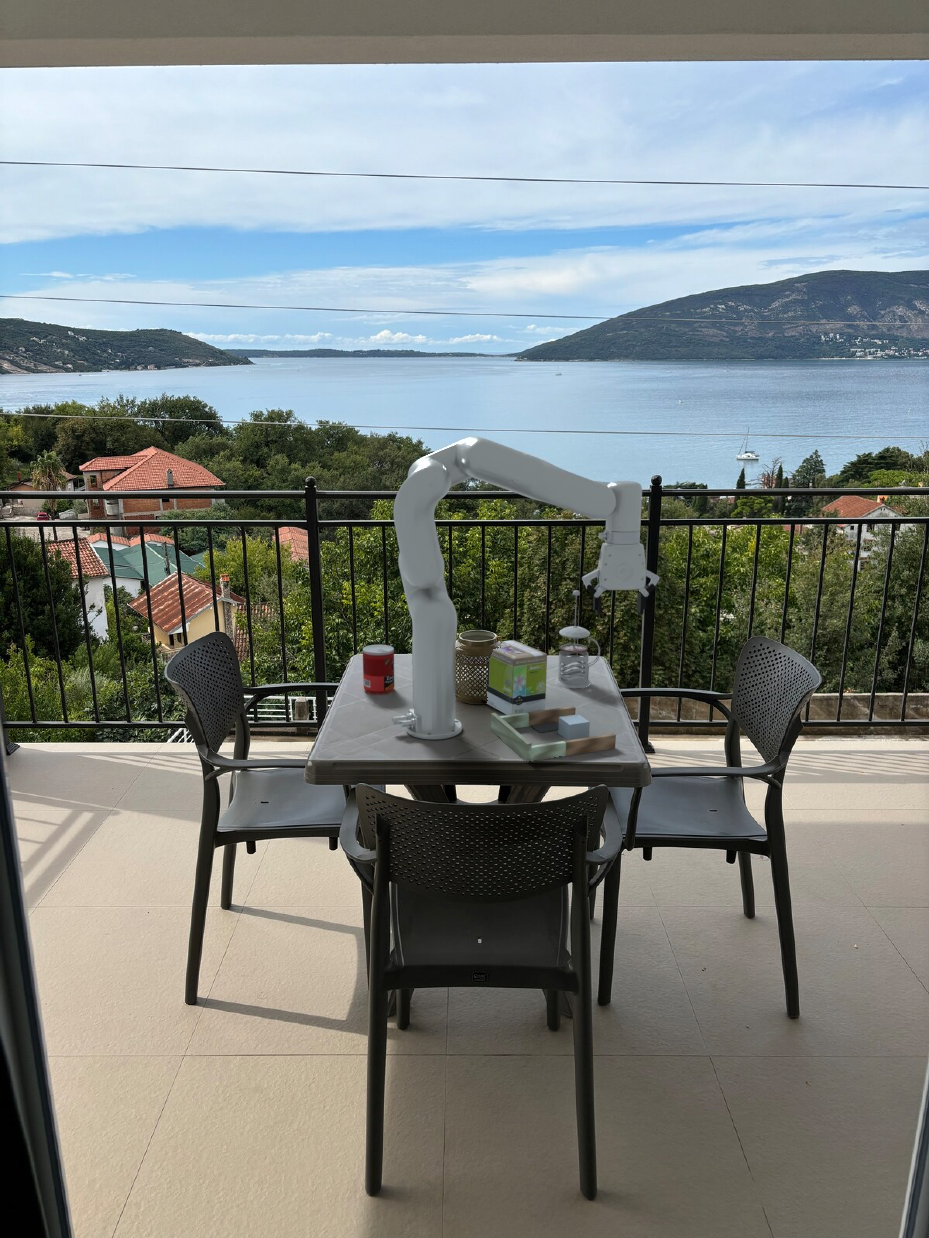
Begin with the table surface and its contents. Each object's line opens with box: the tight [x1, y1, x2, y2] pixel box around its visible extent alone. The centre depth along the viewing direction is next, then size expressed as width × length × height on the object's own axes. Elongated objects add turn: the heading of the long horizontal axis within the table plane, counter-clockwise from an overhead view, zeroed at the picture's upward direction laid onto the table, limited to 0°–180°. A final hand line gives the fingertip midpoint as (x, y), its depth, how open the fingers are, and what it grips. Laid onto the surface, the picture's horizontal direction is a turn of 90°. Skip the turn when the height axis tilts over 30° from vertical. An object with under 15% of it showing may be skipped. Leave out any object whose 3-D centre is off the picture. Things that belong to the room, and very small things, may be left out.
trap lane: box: [490, 705, 617, 763], centre depth 192 cm, size 21×19×4 cm
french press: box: [553, 589, 601, 689], centre depth 227 cm, size 10×12×25 cm
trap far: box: [530, 722, 559, 734], centre depth 198 cm, size 6×4×1 cm
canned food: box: [362, 644, 395, 695], centre depth 222 cm, size 8×8×11 cm
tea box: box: [486, 639, 548, 715], centre depth 210 cm, size 15×10×15 cm, turn 30°
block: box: [557, 714, 591, 741], centre depth 194 cm, size 5×5×4 cm
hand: (619, 613), depth 197 cm, fingers open, 9 cm apart
